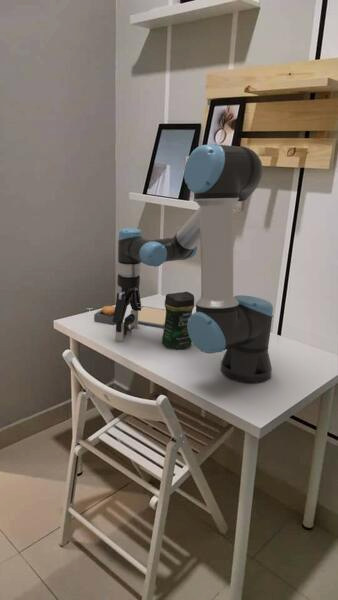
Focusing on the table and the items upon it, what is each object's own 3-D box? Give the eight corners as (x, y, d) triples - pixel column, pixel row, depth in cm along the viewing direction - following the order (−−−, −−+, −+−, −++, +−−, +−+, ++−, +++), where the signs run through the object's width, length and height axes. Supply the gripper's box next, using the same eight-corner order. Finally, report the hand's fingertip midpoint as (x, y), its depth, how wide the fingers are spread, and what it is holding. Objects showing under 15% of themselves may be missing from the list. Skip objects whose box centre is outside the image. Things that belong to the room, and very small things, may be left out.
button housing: (113, 325, 174) (114, 317, 173) (94, 321, 177) (94, 314, 176) (122, 318, 181) (122, 311, 181) (103, 315, 184) (103, 308, 183)
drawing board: (164, 328, 174) (164, 325, 173) (124, 321, 178) (124, 319, 178) (179, 314, 190) (179, 311, 190) (142, 308, 195) (142, 305, 194)
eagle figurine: (140, 334, 164) (139, 321, 172) (129, 319, 161) (129, 306, 168) (121, 344, 165) (121, 330, 173) (110, 330, 162) (111, 316, 170)
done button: (111, 316, 176) (111, 310, 175) (100, 314, 177) (100, 308, 176) (116, 313, 180) (117, 306, 179) (105, 311, 181) (106, 305, 180)
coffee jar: (171, 352, 153) (174, 298, 148) (158, 343, 160) (161, 291, 154) (195, 347, 159) (199, 294, 153) (182, 339, 165) (185, 288, 159)
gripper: (132, 265, 172) (130, 321, 179) (102, 281, 150) (101, 344, 157) (151, 268, 170) (149, 324, 176) (124, 284, 148) (122, 348, 154)
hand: (127, 333), depth 166 cm, fingers open, 12 cm apart
